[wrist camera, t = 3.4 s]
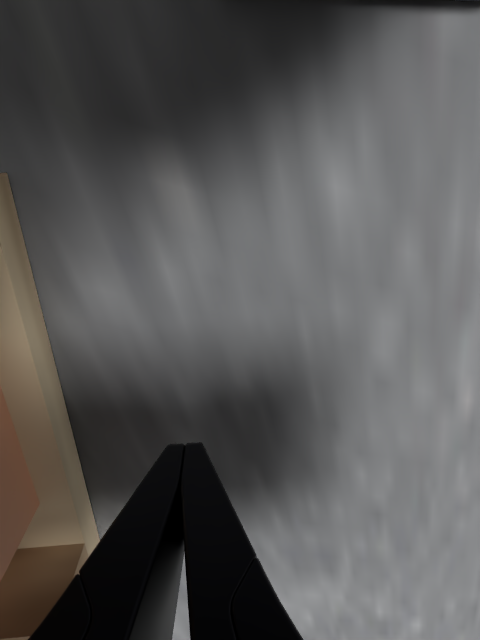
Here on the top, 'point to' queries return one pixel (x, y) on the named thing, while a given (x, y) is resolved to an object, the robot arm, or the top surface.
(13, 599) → the frame
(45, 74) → the top surface
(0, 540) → the terracotta block
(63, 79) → the top surface
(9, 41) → the top surface
